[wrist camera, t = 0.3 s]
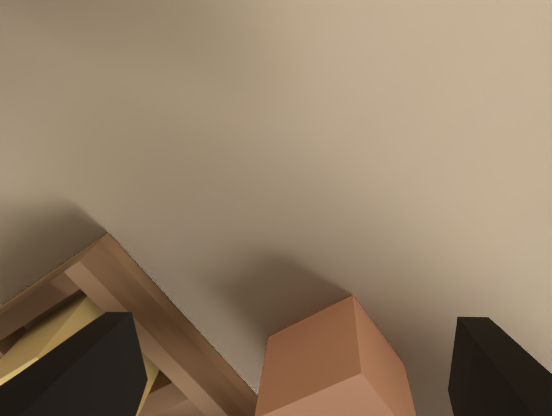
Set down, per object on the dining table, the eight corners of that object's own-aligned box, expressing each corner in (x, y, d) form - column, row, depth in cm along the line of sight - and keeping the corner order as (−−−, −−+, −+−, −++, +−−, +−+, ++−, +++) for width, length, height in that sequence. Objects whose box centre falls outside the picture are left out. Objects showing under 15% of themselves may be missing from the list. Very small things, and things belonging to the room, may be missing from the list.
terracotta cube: (403, 363, 22) (425, 454, 17) (321, 398, 23) (320, 490, 19) (352, 293, 20) (361, 373, 16) (268, 336, 22) (254, 419, 17)
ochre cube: (167, 351, 22) (127, 439, 17) (100, 387, 23) (47, 476, 19) (100, 281, 20) (36, 356, 16) (33, 324, 22) (-42, 404, 17)
